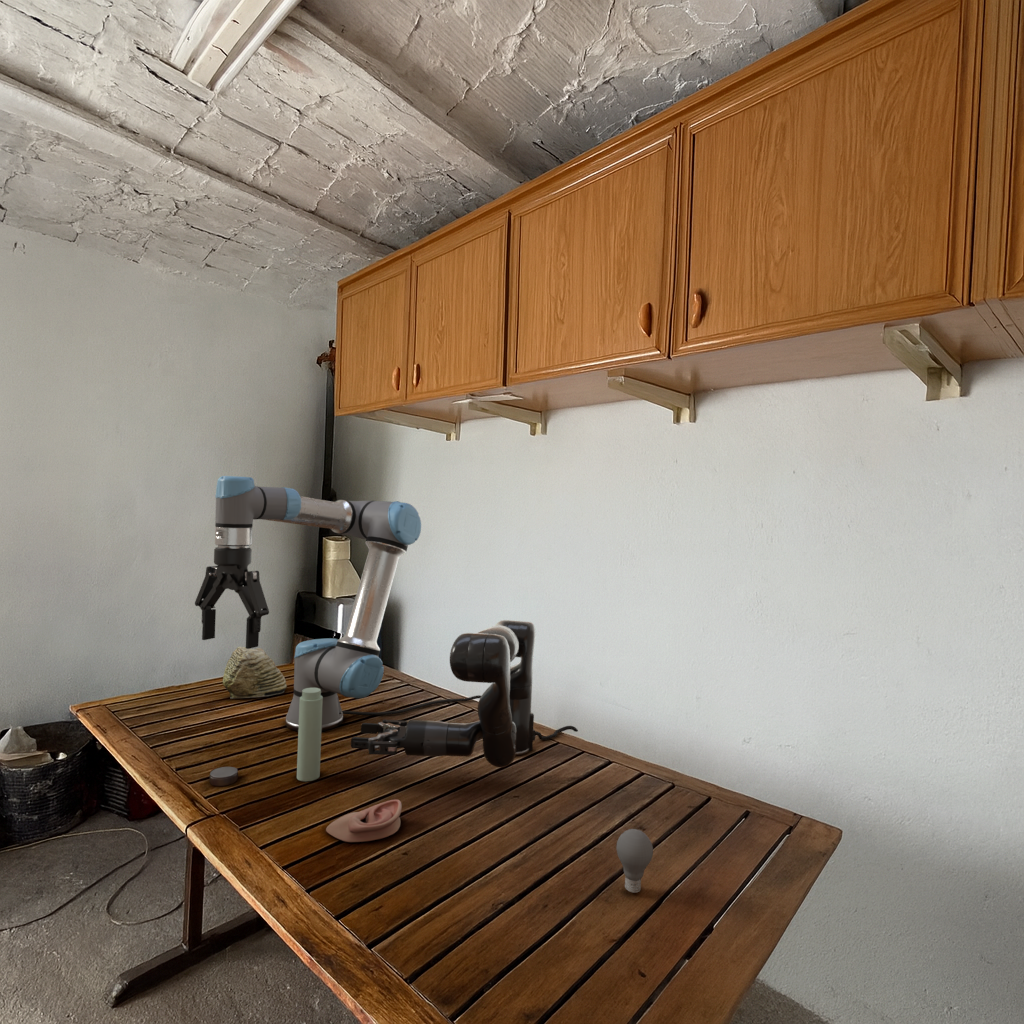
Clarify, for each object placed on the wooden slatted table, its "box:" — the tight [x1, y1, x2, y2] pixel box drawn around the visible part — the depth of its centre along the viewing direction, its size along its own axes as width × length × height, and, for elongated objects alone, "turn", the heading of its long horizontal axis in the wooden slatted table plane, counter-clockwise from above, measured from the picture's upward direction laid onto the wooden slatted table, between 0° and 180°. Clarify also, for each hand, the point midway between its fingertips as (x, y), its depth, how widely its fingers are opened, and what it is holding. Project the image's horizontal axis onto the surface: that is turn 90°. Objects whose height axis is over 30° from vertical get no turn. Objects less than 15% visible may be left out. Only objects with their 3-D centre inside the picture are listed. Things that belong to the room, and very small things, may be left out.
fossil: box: [222, 646, 288, 699], centre depth 198 cm, size 9×18×15 cm, turn 132°
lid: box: [209, 766, 239, 787], centre depth 139 cm, size 6×6×2 cm
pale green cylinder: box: [296, 688, 323, 782], centre depth 143 cm, size 5×5×20 cm
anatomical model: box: [325, 799, 403, 843], centre depth 122 cm, size 13×4×12 cm
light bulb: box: [615, 828, 654, 894], centre depth 106 cm, size 6×6×10 cm
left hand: (229, 643), depth 139 cm, fingers open, 13 cm apart
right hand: (356, 735), depth 143 cm, fingers open, 8 cm apart
